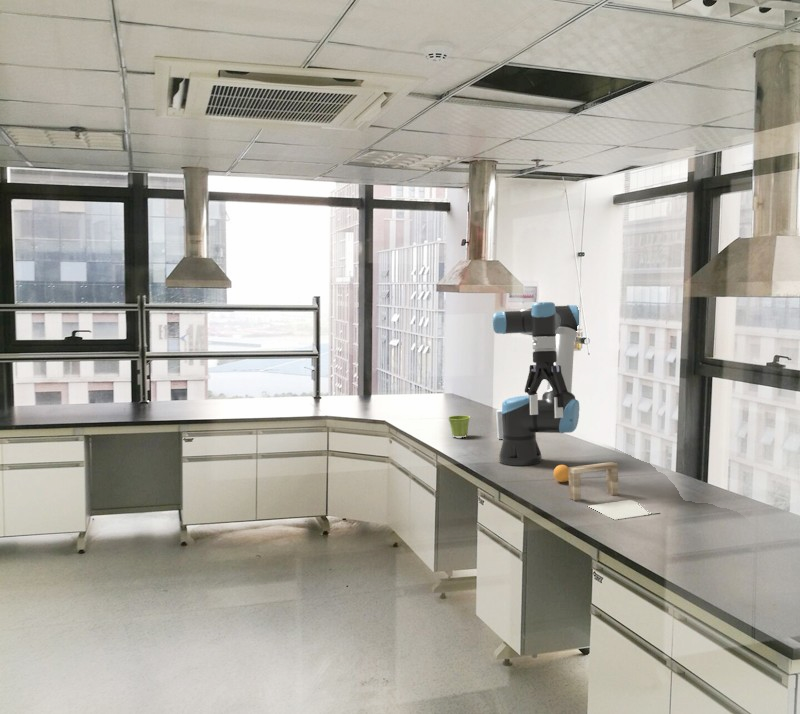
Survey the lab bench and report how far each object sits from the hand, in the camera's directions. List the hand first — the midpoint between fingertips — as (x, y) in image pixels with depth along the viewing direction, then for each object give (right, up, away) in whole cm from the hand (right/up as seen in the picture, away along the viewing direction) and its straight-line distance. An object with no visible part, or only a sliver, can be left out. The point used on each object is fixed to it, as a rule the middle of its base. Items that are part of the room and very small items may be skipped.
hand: (546, 416), depth 243 cm
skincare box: (-3, -15, +70) cm, 72 cm away
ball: (+4, -18, -4) cm, 19 cm away
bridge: (+10, -22, -22) cm, 32 cm away
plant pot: (-21, -15, +78) cm, 83 cm away
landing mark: (+14, -23, -36) cm, 45 cm away
